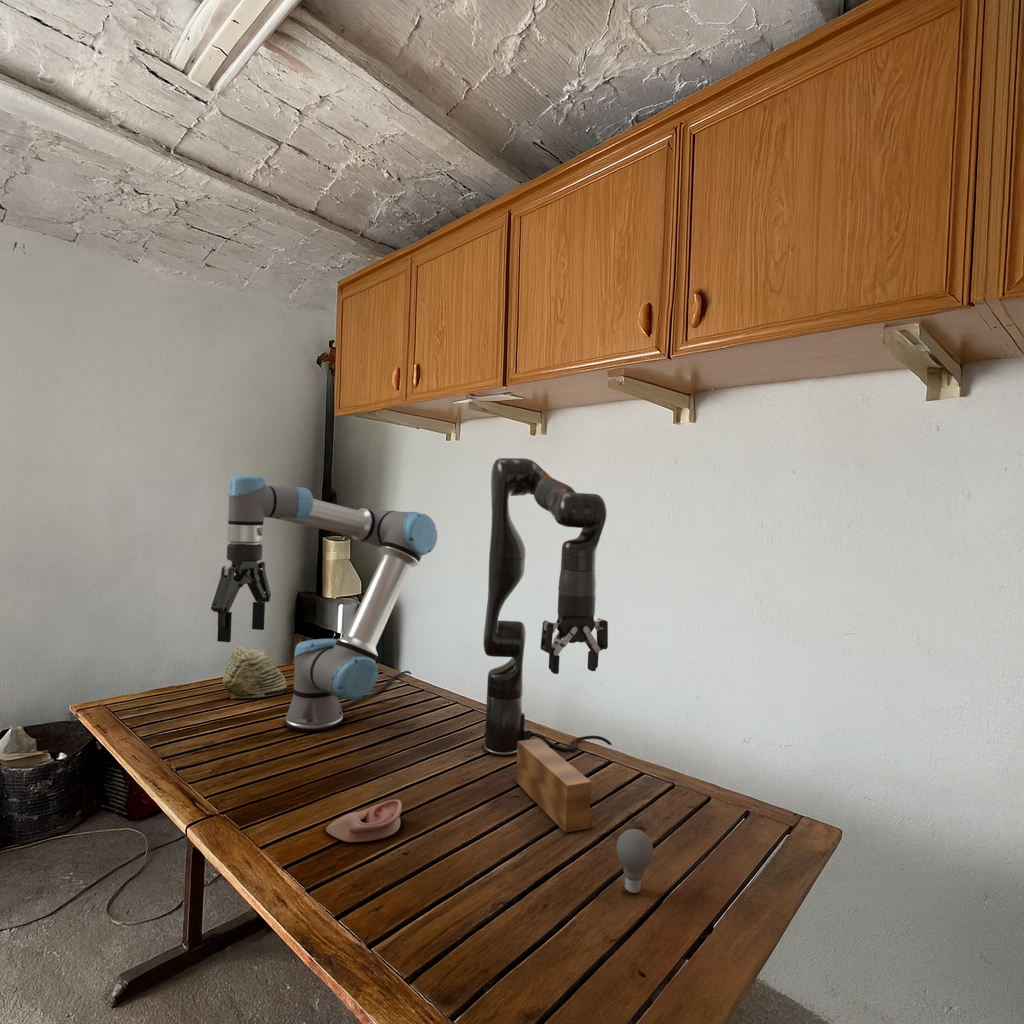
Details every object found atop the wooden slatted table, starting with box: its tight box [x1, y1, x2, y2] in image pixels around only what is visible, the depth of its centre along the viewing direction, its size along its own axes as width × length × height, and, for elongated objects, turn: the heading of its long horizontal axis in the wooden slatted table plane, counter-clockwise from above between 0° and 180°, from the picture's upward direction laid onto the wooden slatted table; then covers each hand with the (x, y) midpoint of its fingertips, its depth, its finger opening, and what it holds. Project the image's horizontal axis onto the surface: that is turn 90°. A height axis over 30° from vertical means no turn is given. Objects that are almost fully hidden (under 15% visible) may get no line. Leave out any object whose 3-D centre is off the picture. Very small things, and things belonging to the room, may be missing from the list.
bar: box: [515, 738, 592, 834], centre depth 135 cm, size 24×6×9 cm, turn 24°
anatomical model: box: [325, 799, 403, 843], centre depth 122 cm, size 13×4×12 cm
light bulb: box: [615, 828, 654, 894], centre depth 106 cm, size 6×6×10 cm
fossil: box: [222, 646, 288, 699], centre depth 198 cm, size 9×18×15 cm, turn 132°
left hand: (241, 635), depth 146 cm, fingers open, 13 cm apart
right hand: (573, 671), depth 128 cm, fingers open, 8 cm apart
